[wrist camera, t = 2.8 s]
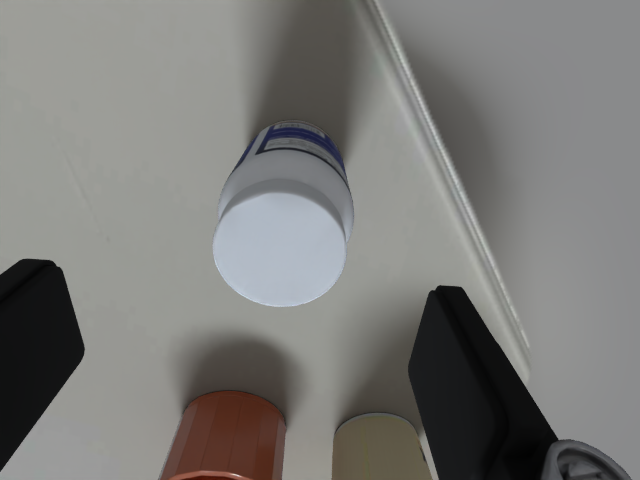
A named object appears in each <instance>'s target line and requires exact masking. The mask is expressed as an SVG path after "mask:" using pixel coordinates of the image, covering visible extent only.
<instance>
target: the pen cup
mask: <svg viewBox="0 0 640 480" xmlns="http://www.w3.org/2000/svg"><path fill="white" fill-rule="evenodd" d="M285 434H286V424H285V420H284V418H283V416H282V414H281V413H280V411H279V410H278V409H277V408H276V407H275V406H274V405H273V404H271V403H270V402H268V401H267V400H265V399H263V398H261V397H258V396H256V395H253V394H249V393H245V392H239V391H218V392H212V393H209V394H205V395H203V396H200V397H199V398H197V399H195V400H194V401H192V402H191V403H190V404H189V405H188V406H187V407H186V409H185V410H184V413H183V415H182V418H181V419H180V421H179V424H178V426H177V429H176V432H175V435H174V437H173V440H172V443H171V445H170V448H169V451H168V453H167V456H166V459H165V462H164V464H163V467H162V470H161V472H160V475H159V478H158V480H282V471H283V459H284V447H285Z"/></svg>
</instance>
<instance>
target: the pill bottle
mask: <svg viewBox="0 0 640 480" xmlns="http://www.w3.org/2000/svg"><path fill="white" fill-rule="evenodd" d="M218 221H219V222H218V224H217V227H216V229H215V233H214V238H213V255H214V260H215V263H216V266H217V268H218V270H219V272H220V274H221V275H222V277H223V278H224V280H225V281H226V282H227V284H228V285H230V287H231V288H233V289H234V290H235V291H236V292H238V293H239V294H240V295H242V296H244V297H245V298H247V299H249V300H252V301H254V302H257V303H260V304H264V305H268V306H277V307H288V306H296V305H300V304H304V303H307V302H310V301H312V300H314V299H316V298H318V297H320V296H321V295H323V294H324V293H325V292H327V291H328V290H329V289H330V288H331V287H332V286H333V285H334V284H335V282H336V281H337V280H338V278H339V276H340V275H341V273H342V271H343V268H344V265H345V262H346V256H347V242H348V240H349V238H350V235H351V232H352V229H353V223H354V208H353V200H352V197H351V193H350V189H349V185H348V181H347V177H346V173H345V168H344V164H343V160H342V157H341V154H340V151H339V149H338V147H337V146H336V144H335V142H334V141H333V140H332V139H331V137H330V136H329V135H328V134H327V133H326V132H324V131H323V130H322V129H320V128H319V127H317V126H315V125H313V124H310V123H307V122H304V121H297V120H287V121H281V122H277V123H274V124H272V125H270V126H268V127H266V128H265V129H263V130H262V131H261V132H260V133H258V134H257V135H256V136H255V137H254V139H253V140H252V141H251V142H250V144H249V146H248V147H247V149H246V150H245V152H244V154H243V155H242V157H241V158H240V160H239V162H238V163H237V165H236V166H235V168H234V170H233V171H232V173H231V174H230V176H229V177H228V179H227V181H226V183H225V185H224V187H223V189H222V192H221V195H220V199H219V204H218Z"/></svg>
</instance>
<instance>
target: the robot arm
mask: <svg viewBox="0 0 640 480" xmlns="http://www.w3.org/2000/svg"><path fill="white" fill-rule="evenodd" d="M84 351H85V348H84V343H83V340H82V336H81V333H80V329H79V326H78V322H77V319H76V315H75V312H74V308H73V305H72V302H71V298H70V295H69V291H68V288H67V284H66V281H65V277H64V274H63V271H62V269H61V268H60V267H57V266H56V264H55V263H54V262H53V261H50V260H39V259H22V260H20V261H18V262H17V263H16V264H14V265H13V266H12V267H10V268H9V269H8V270H6V271H5V272H3V273H2V274H1V275H0V472H1V470H2V469H3V467H4V466H5V465H6V463H7V462H8V461H9V459H10V458H11V456H12V455H13V454H14V452H15V451H16V450H17V448H18V447H19V445H20V444H21V443H22V441H23V440H24V439H25V437H26V436H27V435H28V433H29V432H30V430H31V429H32V428H33V426H34V425H35V424H36V422H37V421H38V419H39V418H40V417H41V415H42V414H43V413H44V411H45V410H46V409H47V407H48V406H49V404H50V403H51V402H52V400H53V399H54V398H55V396H56V395H57V393H58V392H59V391H60V389H61V388H62V387H63V385H64V384H65V383H66V381H67V380H68V378H69V377H70V376H71V374H72V373H73V372H74V370H75V369H76V367H77V366H78V365H79V363H80V362H81V360H82V358H83V356H84ZM408 373H409V379H410V382H411V385H412V389H413V392H414V396H415V399H416V403H417V406H418V409H419V413H420V416H421V420H422V423H423V426H424V430H425V433H426V437H427V440H428V443H429V447H430V450H431V454H432V457H433V461H434V464H435V467H436V471H437V474H438V478H439V480H632V479H631V478H630V476H629V475H628V474H627V473H626V471H625V470H624V469H623V468H622V467H620V466H619V465H618V464H617V463H616V462H615V461H614V460H612V458H610V457H609V456H607V455H606V454H604V453H603V452H601V451H600V450H598V449H597V448H594V447H592V446H590V445H588V444H586V443H583V442H579V441H575V440H571V439H568V440H558V438H557V437H556V435H555V433H554V432H553V430H552V429H551V427H550V425H549V424H548V422H547V421H546V419H545V417H544V416H543V414H542V413H541V411H540V409H539V408H538V406H537V405H536V403H535V402H534V400H533V398H532V397H531V395H530V393H529V392H528V390H527V389H526V387H525V385H524V384H523V382H522V381H521V379H520V377H519V376H518V374H517V373H516V371H515V369H514V368H513V366H512V365H511V363H510V361H509V360H508V358H507V357H506V355H505V353H504V352H503V350H502V349H501V347H500V346H499V344H498V343H497V342H496V341H495V339H494V338H493V336H492V334H491V333H490V331H489V330H488V328H487V326H486V325H485V323H484V322H483V320H482V318H481V317H480V315H479V314H478V312H477V310H476V309H475V307H474V305H473V304H472V302H471V301H470V299H469V297H468V296H467V294H466V293H465V291H464V290H463V288H462V287H457V286H441V285H440V286H438V287H437V288H436V290H435V291H434V290H432V291H430V292H429V294H428V298H427V301H426V305H425V308H424V312H423V315H422V319H421V322H420V326H419V329H418V333H417V336H416V340H415V343H414V347H413V350H412V354H411V357H410V361H409V365H408Z"/></svg>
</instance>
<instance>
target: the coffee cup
mask: <svg viewBox="0 0 640 480" xmlns="http://www.w3.org/2000/svg"><path fill="white" fill-rule="evenodd" d="M332 480H433V479H432V476H431V473H430V470H429V467H428V464H427V461H426V458H425V455H424V452H423V449H422V446H421V444H420V441H419V438H418V435H417V433H416V430H415V429H414V427H413V426H412V425H411V423H410V422H408V421H407V420H406V419H404V418H402V417H400V416H397V415H393V414H389V413H368V414H363V415H359V416H356V417H354V418H351V419H350V420H348V421H346V422H345V423H343V424H342V425H341V426H340V427H339V428H338V430H337V431H336V433H335V436H334V441H333V456H332Z"/></svg>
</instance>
